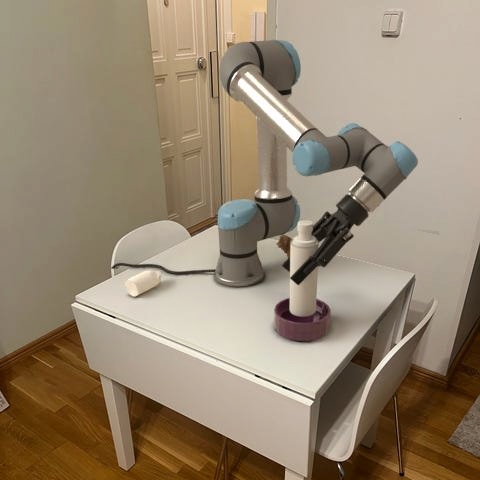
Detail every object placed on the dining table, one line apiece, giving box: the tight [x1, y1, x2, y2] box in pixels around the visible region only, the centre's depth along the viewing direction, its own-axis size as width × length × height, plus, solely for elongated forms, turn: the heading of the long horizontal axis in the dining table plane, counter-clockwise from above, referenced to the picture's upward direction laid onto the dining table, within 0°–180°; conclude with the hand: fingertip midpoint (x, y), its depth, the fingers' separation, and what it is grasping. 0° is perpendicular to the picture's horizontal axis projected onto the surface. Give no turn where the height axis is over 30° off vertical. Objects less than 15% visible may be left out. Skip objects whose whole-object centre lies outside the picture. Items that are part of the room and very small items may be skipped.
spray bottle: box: [289, 219, 320, 317], centre depth 119 cm, size 7×7×25 cm
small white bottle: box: [124, 269, 163, 297], centre depth 149 cm, size 6×12×6 cm, turn 140°
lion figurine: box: [276, 234, 293, 259], centre depth 159 cm, size 15×5×9 cm, turn 50°
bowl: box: [273, 297, 332, 342], centre depth 126 cm, size 14×14×6 cm
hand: (289, 275), depth 119 cm, fingers closed on spray bottle, 7 cm apart
